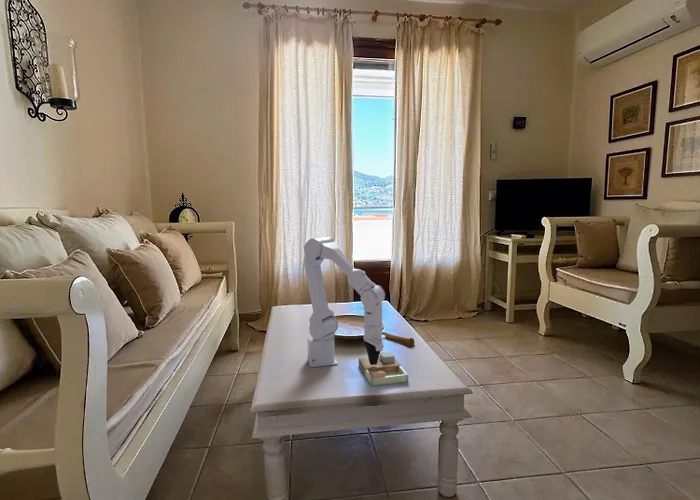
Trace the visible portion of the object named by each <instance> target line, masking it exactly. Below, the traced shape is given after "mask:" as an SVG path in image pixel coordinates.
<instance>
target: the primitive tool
mask: <svg viewBox="0 0 700 500" xmlns="http://www.w3.org/2000/svg"><path fill="white" fill-rule="evenodd" d="M382 335H385V337H386V339H385V340H388V341H392V342H396V343H400V344H404V345H407V346H408V347H413V346H414V345H415V339H414V338H413V337H410V338H408V337H402V336H399V335H394V334H391V333H387V332H383V331H382Z"/></svg>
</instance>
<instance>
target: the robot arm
mask: <svg viewBox="0 0 700 500" xmlns="http://www.w3.org/2000/svg"><path fill="white" fill-rule="evenodd" d="M303 251H304V258H303V265H304V270H305V275H306V282H307V286H308V291H309V292H308V293H309V296H310V302H311V307H312V313H311V315H310V317H309V318H308V319H309V320H308V321H309V327H308V331H309V335H310V336H311V337H309V338H307V360H308V363H309V367H310V368H316V367H327V366H335V365H338V361H337V359H336V357H335V336H336V333H337V330H338V327H339V323H338V320H337V319H336V316H335V313H334V311H332V310H331V309H330V308H329V304H328V298H327V293H326V288H325V283H324V278H323V272H322V267H321V264H322V263H323V262H324V261H325V260H331V261H332V262H333V263H334V264H335V265H336V266H337V267H338V268H339V269H340V270H341V271H342V272H343V273H344V274H345V275H346V276H347V282H348V284H350V286H351V287H352V288H353V289H354V290H355V291H356V293H357V294H358V295H359V296H360V301H361V304H362V306H363V311H364V312H363V313H364V314H363V315H364V317H363V318H364V319H363V320H364V321H363V322H364V323H363V324H364V325H363V326H364V327H363V328H364V329H363V331H364V334H363V341H364V342H363V345H364V348H365V350H366V352H367V357H368V358H369V363H370V365H377V362H378V358H379V356H380V353H382V351H384V344H383V340H387V339H386V337H385V335H382V332H383V301H384V300H385V298H386V292H385V290H384V289H383V287H382V285H377V284H376V283H375V282H374V281H372V280H371V279H370V278H369V277H368V276H367V275H366V271H365V270H362V269H360V268H355V267H354V265H353V264H352V263H351V262H350V260H349V259H348V257H347V256H346V255H345V254H344V252H343V251H342V250H341V249H340V247H339V243H338V242H336V241H335V239H333V237H331V236H328V235H326V236H323V237H314V238H310V239H308V240H307V241H306V243H305V244H304V246H303Z"/></svg>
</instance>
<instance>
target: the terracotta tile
mask: <svg viewBox="0 0 700 500" xmlns="http://www.w3.org/2000/svg"><path fill="white" fill-rule="evenodd" d="M370 374H371V376H372V377H373V378H375V377H384V376H386V373H385V372H383V371H373V372H370Z"/></svg>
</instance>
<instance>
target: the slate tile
mask: <svg viewBox="0 0 700 500" xmlns="http://www.w3.org/2000/svg"><path fill="white" fill-rule="evenodd" d="M379 356H380V359H381V360H382V362H383V363H388V362H395V359H396V356H395V355H394V354H393V352H392V351H384V352H382V351H381V352H380V354H379Z"/></svg>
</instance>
